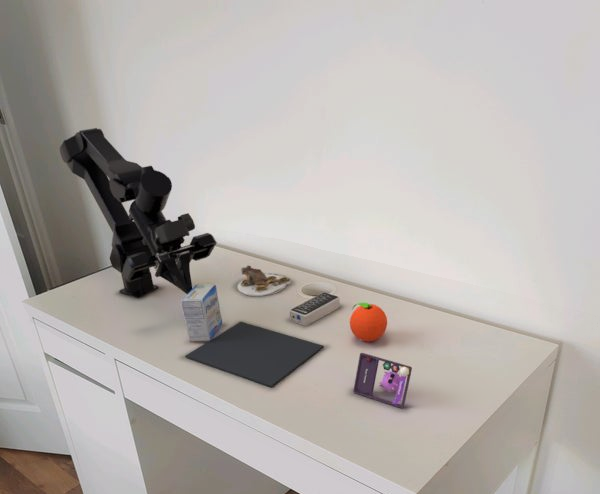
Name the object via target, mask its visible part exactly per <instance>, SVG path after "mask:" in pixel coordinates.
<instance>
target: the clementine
mask: <svg viewBox="0 0 600 494" xmlns="http://www.w3.org/2000/svg"><path fill="white" fill-rule="evenodd" d="M356 306H358V307H356ZM355 307H356V308H355ZM354 308H355V309H354ZM353 310H354V311H353ZM352 311H353V312H352V314H351V316H350V318H349V325H350V326H349V327H350V331H351V333H352V335H354V337H355V338H357V339H358V340H360V341H362V342H367V343H368V342H374V341H377V340H378V339H380V338H381V337H382V336H384V335H385V332H386V331H387V327H388V317H387V315H386V313H385V311H384V310H383V309H382V308H381V307H380V306H378V305H376V304H374V303H368V302H358V303H356V304H354V305H353V306H352Z"/></svg>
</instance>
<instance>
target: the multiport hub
mask: <svg viewBox="0 0 600 494" xmlns="http://www.w3.org/2000/svg"><path fill="white" fill-rule="evenodd" d="M340 301H341V300H340V296H337V295H335V294H333V293H329V292H321V293H319V294H318V295H315V296H313V297H312V298H309V299H308V300H306V301H304V302H302V303H300V304H298V305H297V306H294V307H293V308H291V309H289V319H290V322H291V323H295V324H298V325H301V326H303V327H307V326H309V325H311V324H313V323H315V322H317V321H318V320H321V319H322V318H324V317H325V316H327V315H329V314H331V313H332V312H335V311H337V310H338V309H340V307H341V306H340V304H341V303H340Z"/></svg>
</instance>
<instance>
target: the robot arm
mask: <svg viewBox="0 0 600 494" xmlns="http://www.w3.org/2000/svg"><path fill="white" fill-rule="evenodd" d="M59 154H60V157H61V160H62V161H63V163H64V164H66V166H67V167H68V168H69V170H70V171H71V173H72V174H73V175H76V176H77V177H79V178H81V179H83V180H84V183H86V185H87V187H88V189H89V191H90V193H91V195H92V196H93V198H94V201H95V203H96V204H97V206H98V208H99V210H100V212H101V214H102V215H103V217H104V219H105V220H106V223H107V225H108V226H109V228H110V230H111V232H112V239H111V247H112V248H111V252H110V254H109V261H110V265H111V267H112V268H113V269H114V270H116V271H117V272H119V273H120V275H121V279H122V283H123V288H121V289H119V294H123V295H126V296H129V297H132V298H136V299H139V298H141V297H144V296H146V295H149V294H150V293H152V292H154V291H156V290H158V289H159V285H156V284H154V280H153V276H152V272H151V269H150V268H154V270H155V273H154V276H155V277H156V278H162V279H164V280H165V281H167V282H169V283H171V284H172V285H173V286H175V287H176V288H178V289H179V290H180V291H182V292H183V293H185V295H187V294H188V293H189V292H190V291H191V290H192V289H193V288H194V287H193V283H192V275H191V269H190V266H191V265H190V264H191V261H192V260H193V261H195V262H196V261H200V260H203V259H207V258H208V257H209V256H211V254H212V252H213V251H214V249H215V247H216V245H217V244H218V242H217V240H216V239H215V237H214V235H213V234H211V233H210V232H205V233H202V234H199V235H195V236H193V237H192V239H191V241H190V242H189V244H187V245H184V246H182V245H183V244H184V242H185V237H189V236H190V232H191V231H193V230H195V229H196V225H195V222H194V219H193V218H192V216H191V215H190V213H189V212H188V213H187V212H186V213H184V214H180V215H179V216H177V219H176V220H173V221H172V220H171V219H167V218H166V216H165V215H164V213H163V211H164V209H165V208H166V206H167V203H168V201H169V198H170V194H171V192H172V189H173V183H172V180H171V178H170V177H169V176H168V175H167V174H166V173H163V172H161V171H159V170H156V169H154V167H153V166H152V165H148V166H147V165H146V166H141V165H140V164H138V163H137V162H134V161H130V160H127V159H125V157H124V156H123V155H122V154H121V153H120V152H119V151H118V150H117V149H116V148H115V147H114V145H113V144H111V142H110V141H109V140H108V139H107V138H106V137H105V134H104V131H103V130H102V129H101V128H97V127H95V128H88V129H82V130H81V129H80V130H79V131H77V132H75V134H74V135H73V136H71V137H69V138H67V139H64V140H63V141H62V143H61V145H60V146H59ZM131 201H132V202H131ZM127 202H131V204H130V206H129V209H128V212H127V210H126V208H125V206H124V204H123V203H127ZM128 213H129V214H128Z"/></svg>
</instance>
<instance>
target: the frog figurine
mask: <svg viewBox="0 0 600 494" xmlns="http://www.w3.org/2000/svg"><path fill="white" fill-rule="evenodd" d="M240 269H241V271H240V272H241V275H245V276H246V277H245V278H244V279H242V280H241V281H239V282H238V284H237V290H238V291H239V292H241V293H242V294H244V295H245V296H249V297H261V296H263V297H264V296H271V295H274V294H277V293H279V292H281V291H283V290H284V289H286V287H287V286H290V285H292V283H291V279H290V277H288V276H285V275H279V274H277V273H264V272H263V271H262V270H261V269H259V268H253V267H252V266H251V265H247V266H246V267H241V268H240Z"/></svg>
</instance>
